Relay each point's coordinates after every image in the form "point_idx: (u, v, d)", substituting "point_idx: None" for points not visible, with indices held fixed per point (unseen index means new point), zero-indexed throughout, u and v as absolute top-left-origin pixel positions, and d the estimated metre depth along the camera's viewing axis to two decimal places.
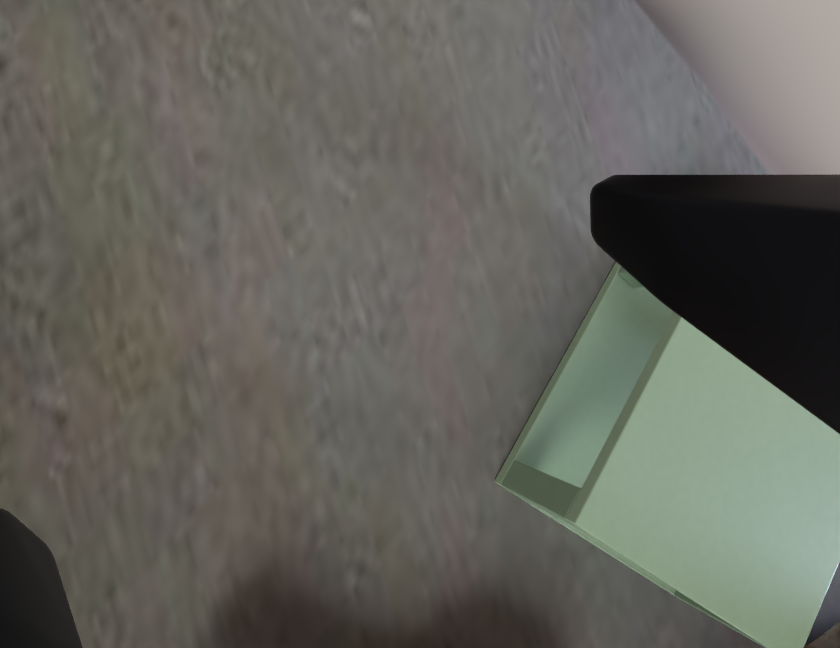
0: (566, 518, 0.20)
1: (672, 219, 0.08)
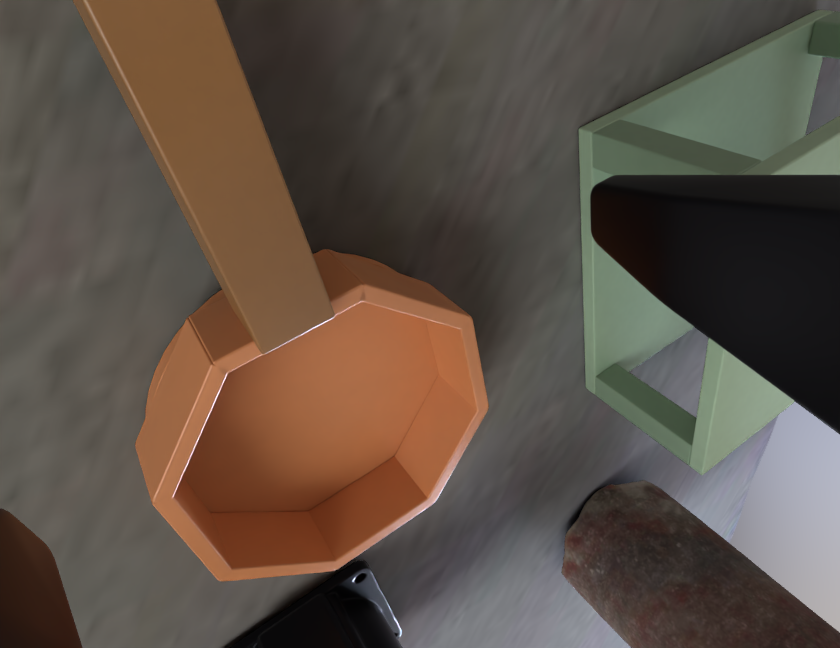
0: None
1: (672, 219, 0.08)
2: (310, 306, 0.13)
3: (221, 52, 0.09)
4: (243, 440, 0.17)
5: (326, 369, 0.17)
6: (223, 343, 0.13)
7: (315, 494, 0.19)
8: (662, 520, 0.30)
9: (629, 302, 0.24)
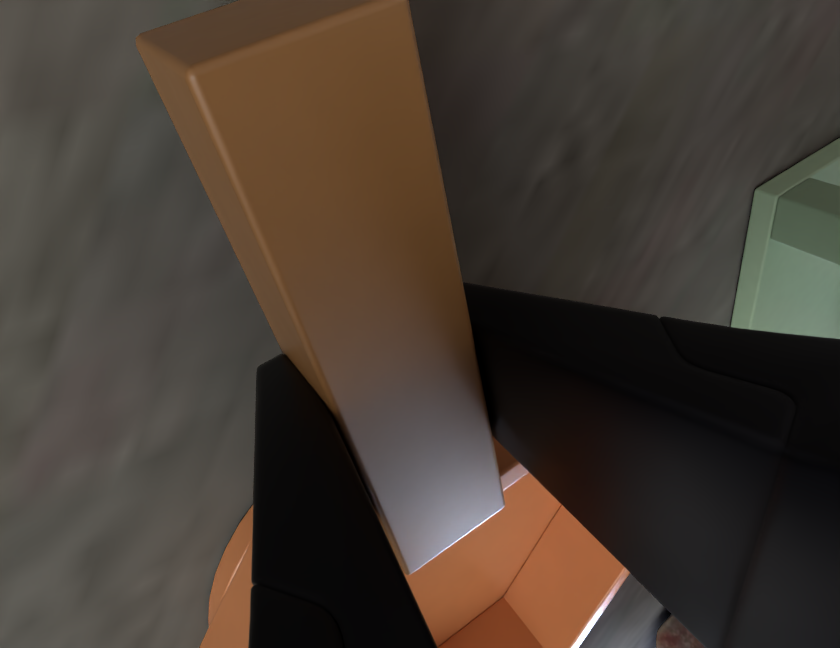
0: None
1: None
2: (477, 502, 0.08)
3: (417, 158, 0.05)
4: None
5: None
6: None
7: None
8: None
9: None
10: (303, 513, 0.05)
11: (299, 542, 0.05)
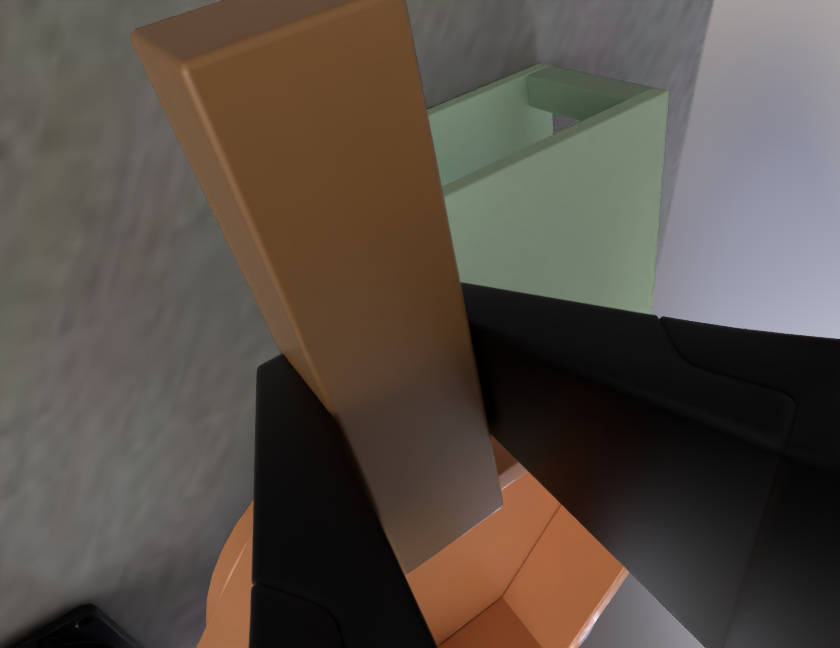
0: None
1: None
2: (475, 501, 0.08)
3: (414, 155, 0.05)
4: None
5: None
6: None
7: None
8: None
9: None
10: (304, 513, 0.05)
11: (300, 542, 0.05)
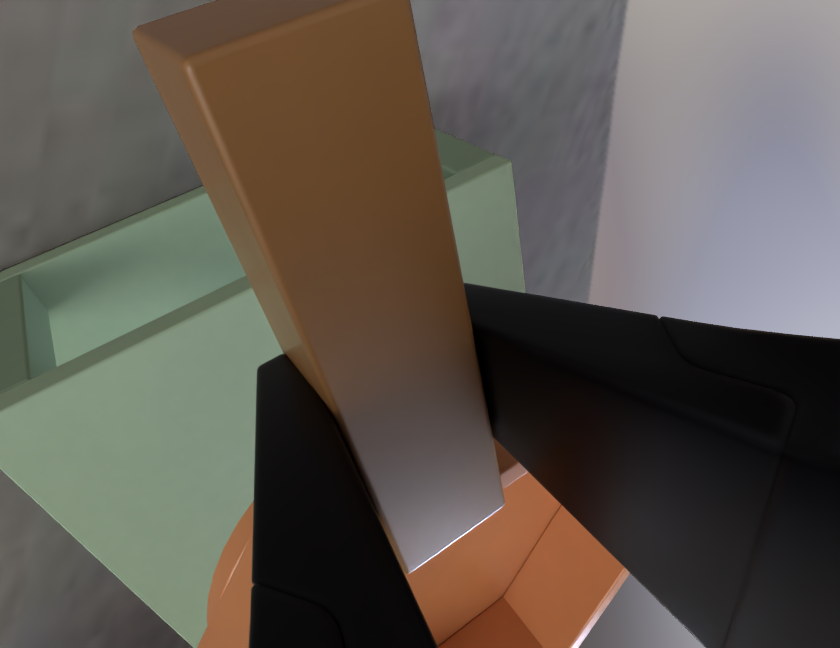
0: None
1: None
2: (477, 500, 0.08)
3: (417, 152, 0.05)
4: None
5: None
6: None
7: None
8: None
9: None
10: (303, 513, 0.05)
11: (299, 542, 0.05)
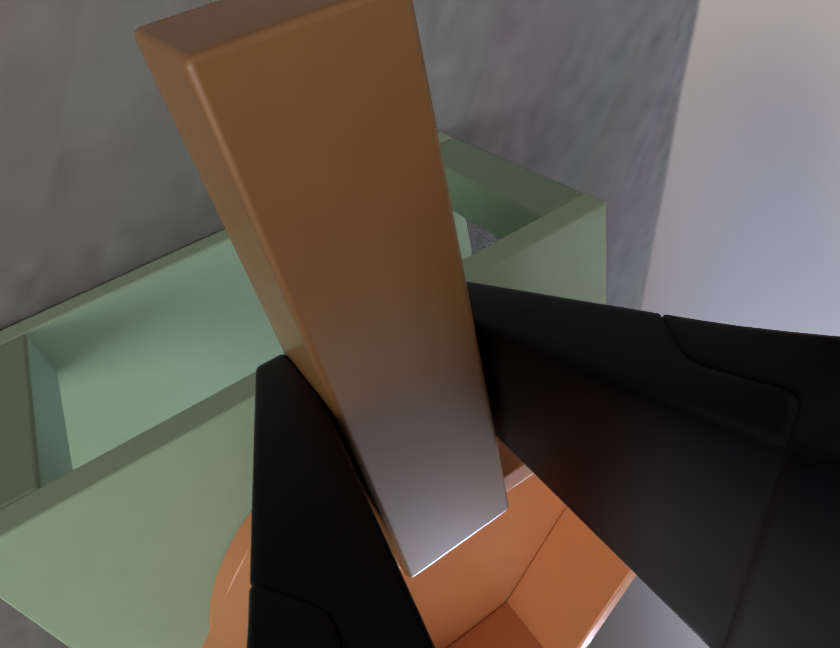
0: None
1: None
2: (481, 503, 0.08)
3: (419, 151, 0.05)
4: None
5: None
6: None
7: None
8: None
9: None
10: (302, 513, 0.05)
11: (298, 543, 0.05)
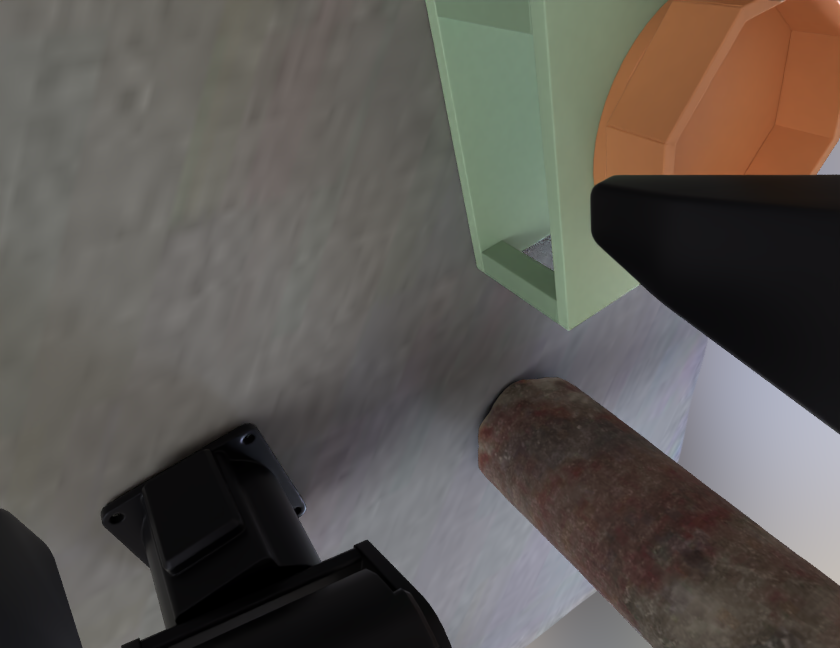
0: None
1: (672, 219, 0.08)
2: None
3: None
4: None
5: (720, 90, 0.20)
6: None
7: None
8: (566, 407, 0.31)
9: (506, 173, 0.24)
10: None
11: None
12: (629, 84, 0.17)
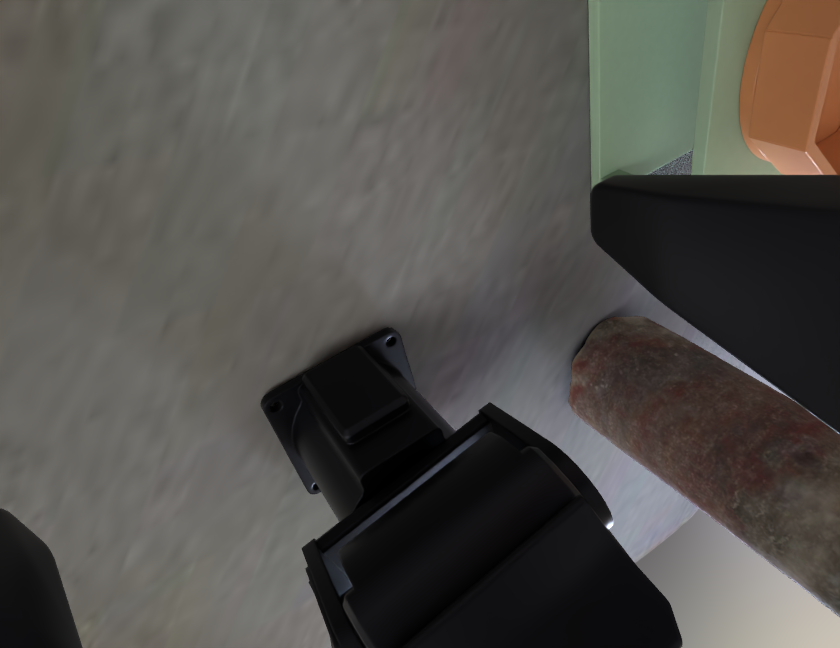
0: None
1: (672, 219, 0.08)
2: None
3: None
4: None
5: None
6: None
7: None
8: (661, 338, 0.32)
9: (631, 102, 0.27)
10: None
11: None
12: None
